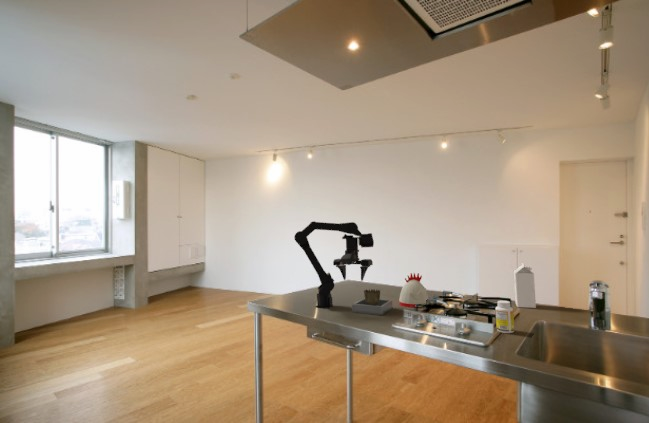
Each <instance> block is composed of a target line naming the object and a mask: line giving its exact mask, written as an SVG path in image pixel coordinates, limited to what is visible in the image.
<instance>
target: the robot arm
mask: <svg viewBox="0 0 649 423" xmlns="http://www.w3.org/2000/svg"><path fill="white" fill-rule="evenodd" d="M315 230H317V231H319V230H321V231H334V232H335V231H336V232H341V233H344V234H343V236H342V237H341V239H342V240H345V248H346V249H345V251H344V254H343V255H342V256H341V257H340V258H335V259H333V263H332V264H333V266H335V267H336V268H338V269H339V271H340V273H341V275H342V278H343V280H344V281H346V280H347V279H346V278H347V266H350V265H361V266H360V280H361V282H362V281H364V278H365V276H366V272H367V270H368V269H369V268H370V267H371V266H373V263H374V262H373V260H372V259H371V258H362V259H360V257H359V252H360V249H359V246H360V247H361V248H373V247H374V239H373V238H374V237H373V233H372V232H371V233H362V232H361V231H360V229H359V227H358V224H357V223H356V222H354V221H353V222H341V223H333V222H331V223H330V222H323V221H322V222H320V221H311V222H310V223H309V224H308V225H307V226H306V227H305V228H303V229H302V230H301V231H300V230H299V231H297V232H296V233H295V234H294V241H295V243H297V245H299V247H300V248H301V249H302V250H303V252H304V253H305V255H306V257H307V258H308V260H309V262H310V264H311V265H312V267H313V269H314V270H315V272H316V274H317V277H318V279H319V281H320V284H319V286H318V287H317V291H318V292H317V293H316V305H315V308H319V309H322V308H323V309H329V308H331V307H334V304H333V297H332V293H331V292H332V291H333V289H335V280H334V278H333V277H332V275H331V273H330V272H326V271H325V270H324V268H323V266H322V265H321V263H320V260H318V257H317V256H316V255H315V252H314V251H313V249H312V247H311V245H310V241H309V240H308V239H309V238H308V237H309V236H310V234H312V232H314V231H315ZM354 236H355V237H354Z"/></svg>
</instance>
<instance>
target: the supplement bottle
mask: <svg viewBox="0 0 649 423" xmlns="http://www.w3.org/2000/svg"><path fill="white" fill-rule="evenodd" d="M496 305H497V306H495V324H496V330H497V331H498V332H499V333H502V334H503V333H504V334H513V333H514V332H515V318H514V309H513V307H512V306H511V301H509V300H497V304H496Z"/></svg>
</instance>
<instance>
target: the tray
mask: <svg viewBox="0 0 649 423" xmlns="http://www.w3.org/2000/svg"><path fill="white" fill-rule="evenodd" d="M393 306H394V305H393V300H392V299H382V298H380V301H379V303H378V304H377V306H372V305H368V304H367V303H366V301H365V297H364V298H362V299H359V300H358V301H355V302H354V303H352V304H351V312H352V313H357V314H365V315H366V314H368V315H377V316H378V315H379V316H384V314H386V313H388V312H389V311H390V310H392V309H393Z"/></svg>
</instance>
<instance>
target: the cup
mask: <svg viewBox="0 0 649 423" xmlns="http://www.w3.org/2000/svg"><path fill="white" fill-rule="evenodd" d="M363 293H364V294H363V295H364V298H365V301H366V303H367V304H368V305H372V306H377V304H378V303H379V301H380V299H381V290H380V289H376V290H375V289H370V288H369V289H364V290H363Z"/></svg>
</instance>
